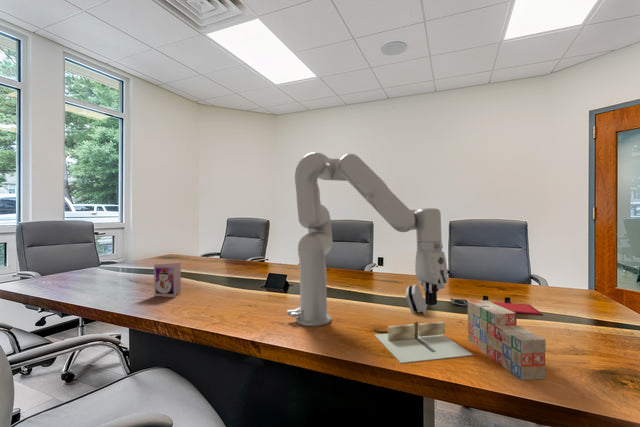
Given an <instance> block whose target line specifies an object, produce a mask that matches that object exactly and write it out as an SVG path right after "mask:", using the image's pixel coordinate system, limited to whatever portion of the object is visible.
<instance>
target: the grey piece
mask: <svg viewBox="0 0 640 427" xmlns="http://www.w3.org/2000/svg"><path fill="white" fill-rule="evenodd" d="M405 298H406V301H407V304H408V307H409V310H410V312H411V314H415V313H416V312H417V313H420V312H422V313H423V315H424V316H425V315H426V312H427V308H428V306H429V305H427V304H426V301H425V297H424V296H423V293H422V291H421V288H420V285H419V284H413V285H409V286H407V287H406V289H405Z"/></svg>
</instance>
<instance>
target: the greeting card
mask: <svg viewBox="0 0 640 427" xmlns="http://www.w3.org/2000/svg"><path fill="white" fill-rule="evenodd" d="M181 265H182V264H181V262H176V263H174V262H173V263H160V264H157V263H156V264H153V297H155V296H168V297H167V298H176V297H177V294H176V293H182V291H181V290H182V288H181V287H182V286H181V282H182V281H181V280H182V278H181V277H182V276H181V275H182V273H181V272H182V271H181V270H182V268H181Z"/></svg>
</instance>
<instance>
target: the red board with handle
mask: <svg viewBox="0 0 640 427" xmlns="http://www.w3.org/2000/svg"><path fill="white" fill-rule="evenodd" d="M450 300H451V303H452V304H453V305H457V306H467V307H468V301H476V300H472V299H469V300H467V299H462V298H461V299H460V298H450ZM482 301H489V295H482ZM491 302H492V303H493V304H496V305H498V306H500V307H503V308H505V309H507V310H510V311H512V312H514V313H516V315H529V316H530V315H531V316H532V315H533V316H543V313H542V312H541V311H539V310H538V309H536V308H535V307H534V306H532V305H531V304H525V303H515V302H514V303H513V302H511V297H510V296H508V297H507V296H504V302H501V301H498V302H497V301H491Z"/></svg>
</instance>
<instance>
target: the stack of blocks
mask: <svg viewBox="0 0 640 427" xmlns="http://www.w3.org/2000/svg"><path fill="white" fill-rule="evenodd" d="M467 301H468V306H467V326H468V327H467V331H468V332H467V334H468V335H467V337H468V342H469V343H470V344H471V345H473V346H474V347H475V348H477V349H478V350H479V351H481V353H483V354H485V355H486V356H487V357H489V358H490V359H492V360H493V361H495V362H496V363H497V364H499V365H500V366H502V368H504V369H505V370H507V372H509V373H511V374H513V376H515V377H516V378H517V379H519V380H520V381H521V380H522V381H524V380H525V381H528V380H545V379H546V350H547V349H546V346H547V345H546V339H545V337H542V336H540V335H538V334H535V333H534V332H532V331H530V330H529V329H526V328H524V327H522V326H520V325H517V323H518V322H517V314H516V313H514V312H512V311H510V310H507V309H505V308H503V307H500V306H498V305H496V304H493V303H492V302H493V301H489V300H488V301H483V300H475V301H470V300H467Z"/></svg>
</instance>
